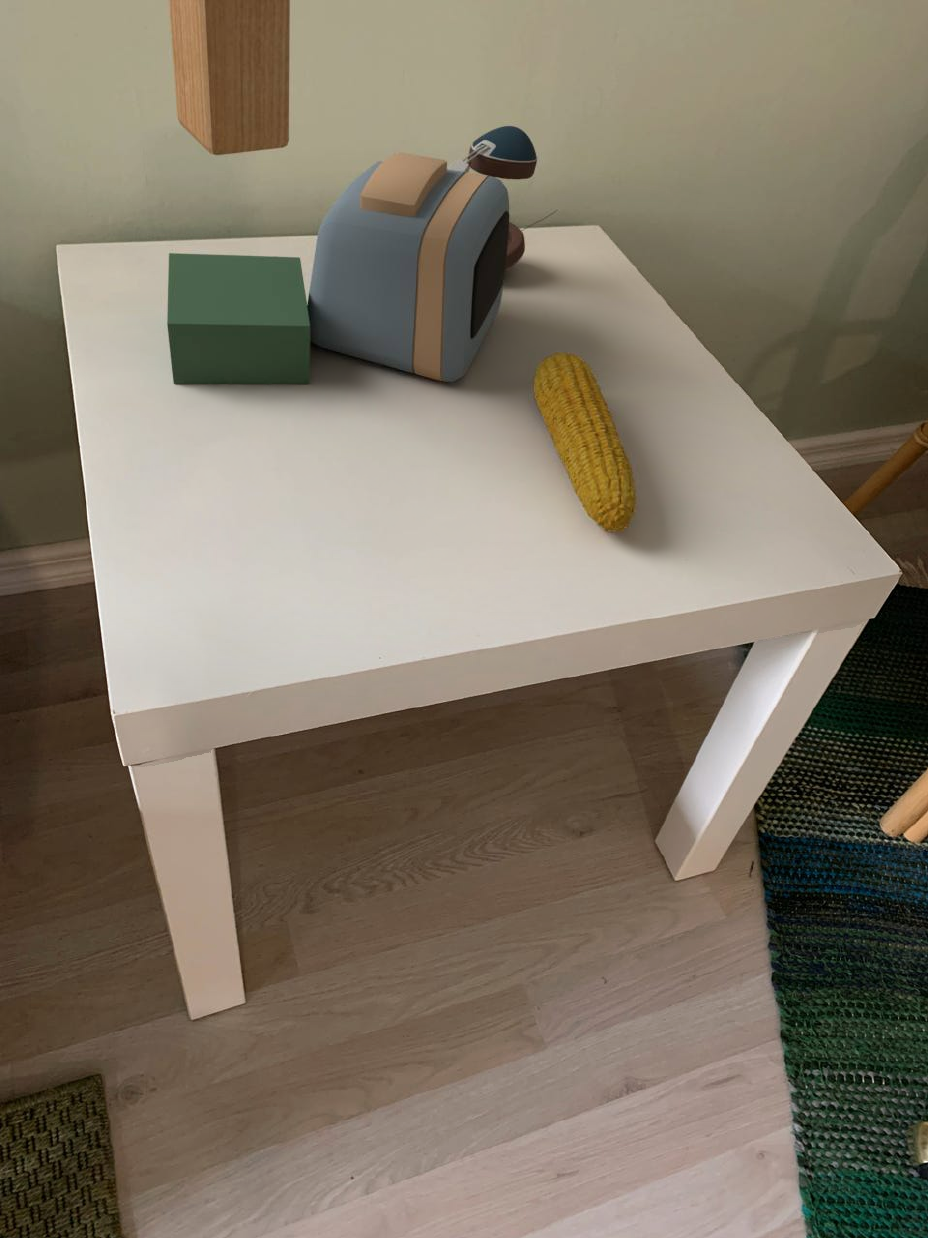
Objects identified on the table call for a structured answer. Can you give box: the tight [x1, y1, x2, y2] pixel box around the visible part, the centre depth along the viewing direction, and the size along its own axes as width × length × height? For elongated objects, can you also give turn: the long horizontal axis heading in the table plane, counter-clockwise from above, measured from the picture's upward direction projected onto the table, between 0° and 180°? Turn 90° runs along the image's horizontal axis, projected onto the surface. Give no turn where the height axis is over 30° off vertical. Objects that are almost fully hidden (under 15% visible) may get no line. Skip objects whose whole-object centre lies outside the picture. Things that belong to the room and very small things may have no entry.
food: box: [532, 351, 637, 533], centre depth 82 cm, size 21×6×6 cm, turn 13°
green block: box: [166, 252, 311, 385], centre depth 88 cm, size 12×12×6 cm
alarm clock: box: [307, 151, 510, 383], centre depth 90 cm, size 16×16×16 cm
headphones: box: [447, 125, 558, 272], centre depth 100 cm, size 6×15×22 cm
